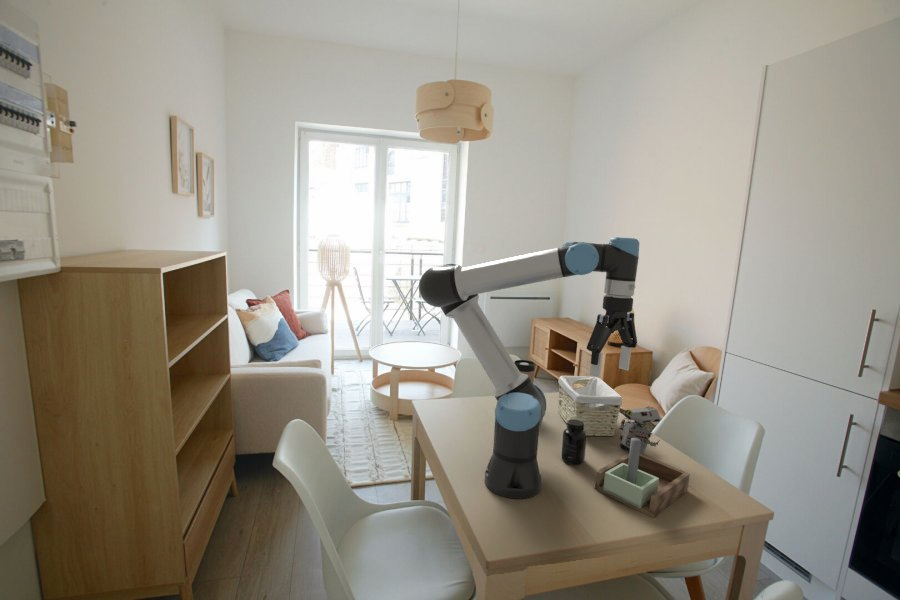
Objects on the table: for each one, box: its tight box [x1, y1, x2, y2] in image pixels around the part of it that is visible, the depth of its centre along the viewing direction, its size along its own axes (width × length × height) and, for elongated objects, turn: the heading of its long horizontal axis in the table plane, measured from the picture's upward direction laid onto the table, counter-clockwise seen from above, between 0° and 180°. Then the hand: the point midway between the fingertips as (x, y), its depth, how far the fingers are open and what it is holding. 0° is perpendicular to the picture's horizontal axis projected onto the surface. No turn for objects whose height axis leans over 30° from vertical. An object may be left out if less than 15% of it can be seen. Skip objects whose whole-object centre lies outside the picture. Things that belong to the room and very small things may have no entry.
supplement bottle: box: [561, 419, 587, 466], centre depth 138 cm, size 7×7×12 cm
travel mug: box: [513, 359, 536, 384], centre depth 172 cm, size 8×8×20 cm
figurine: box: [619, 406, 661, 455], centre depth 144 cm, size 9×12×15 cm
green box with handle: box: [603, 438, 659, 508], centre depth 118 cm, size 9×10×15 cm
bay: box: [594, 453, 691, 519], centre depth 123 cm, size 20×16×5 cm
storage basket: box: [557, 375, 623, 437], centre depth 166 cm, size 24×16×15 cm
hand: (609, 372), depth 126 cm, fingers open, 13 cm apart
